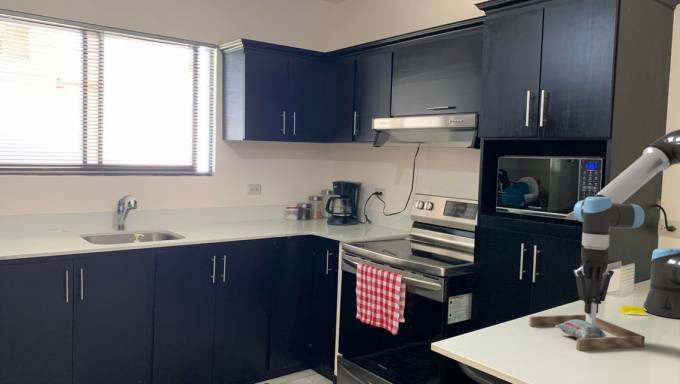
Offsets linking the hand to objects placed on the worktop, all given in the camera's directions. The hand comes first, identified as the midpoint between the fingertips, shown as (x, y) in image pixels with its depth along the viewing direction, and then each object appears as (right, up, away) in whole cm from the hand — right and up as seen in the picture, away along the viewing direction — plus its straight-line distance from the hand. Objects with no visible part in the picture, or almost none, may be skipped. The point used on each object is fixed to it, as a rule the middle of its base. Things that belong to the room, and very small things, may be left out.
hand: (590, 323), depth 169 cm
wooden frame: (-2, -4, 0) cm, 4 cm away
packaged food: (-8, -5, -1) cm, 9 cm away
